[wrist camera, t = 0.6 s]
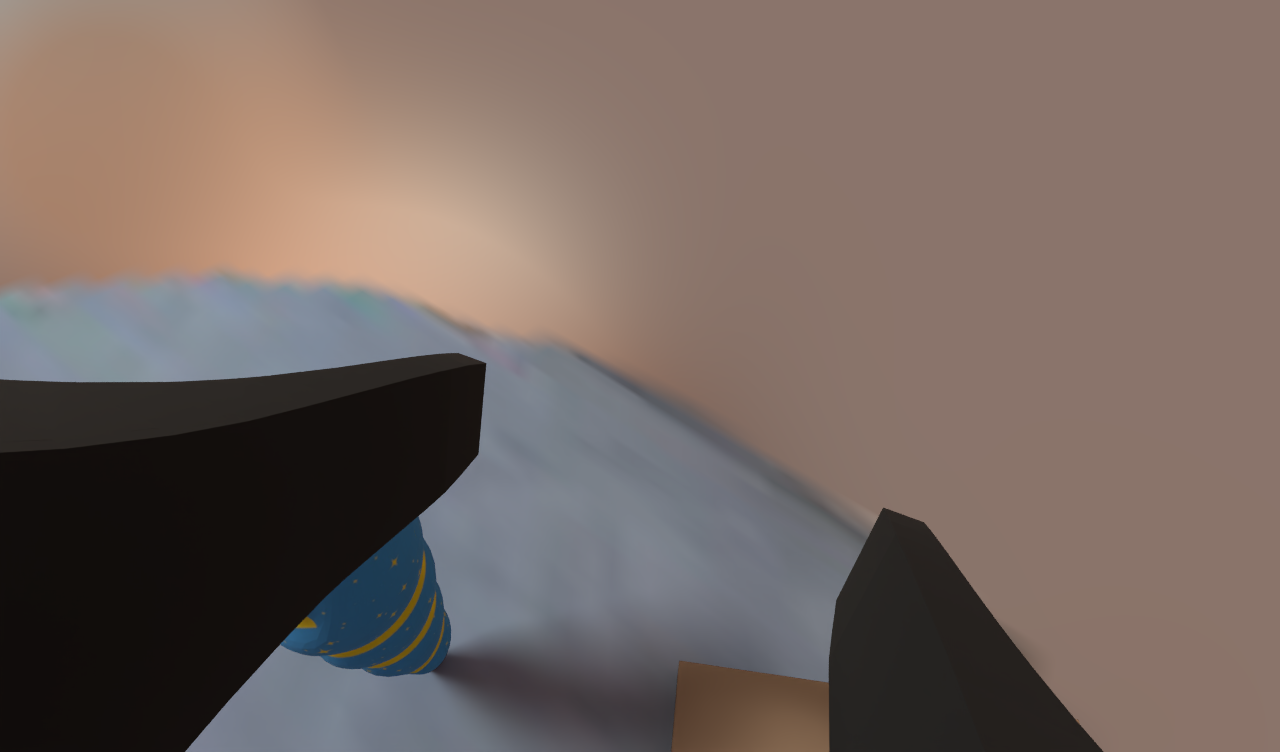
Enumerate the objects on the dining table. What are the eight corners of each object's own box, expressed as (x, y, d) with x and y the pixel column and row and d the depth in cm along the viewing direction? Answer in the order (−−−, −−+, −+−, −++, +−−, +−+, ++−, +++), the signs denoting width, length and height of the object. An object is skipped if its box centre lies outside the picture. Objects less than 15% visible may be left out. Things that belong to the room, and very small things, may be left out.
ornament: (354, 669, 25) (117, 501, 14) (445, 579, 27) (309, 380, 16) (425, 753, 23) (212, 635, 11) (516, 647, 25) (415, 469, 14)
